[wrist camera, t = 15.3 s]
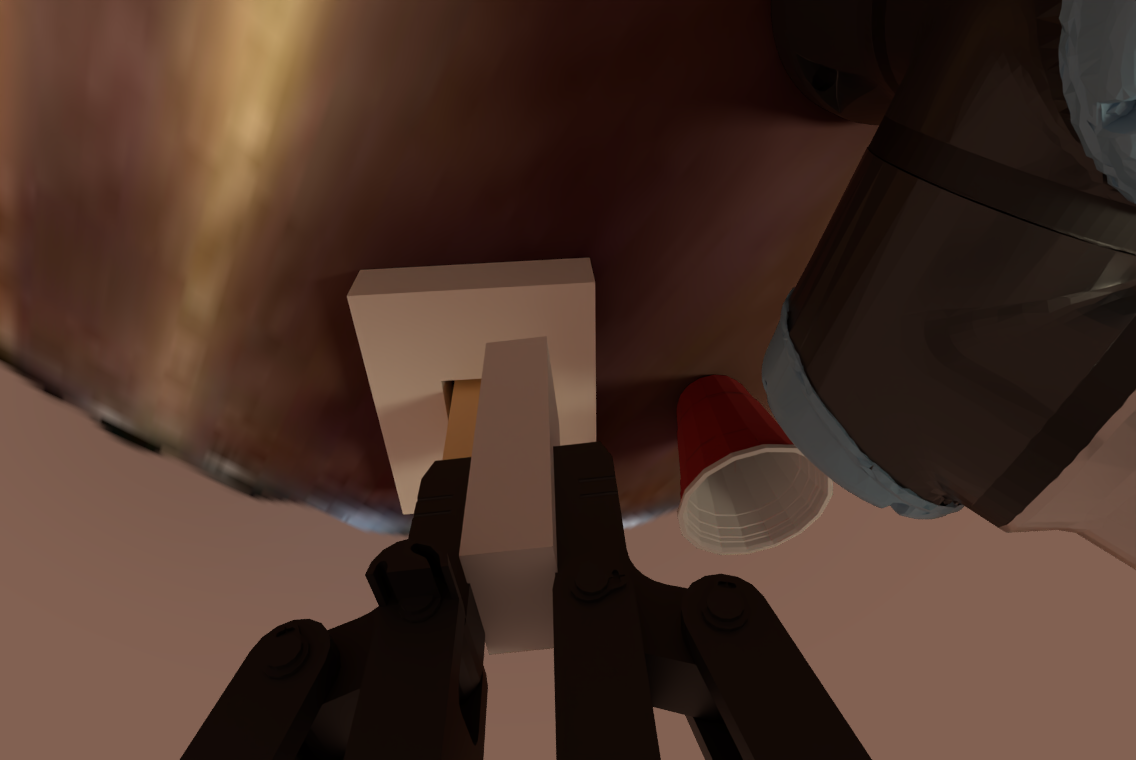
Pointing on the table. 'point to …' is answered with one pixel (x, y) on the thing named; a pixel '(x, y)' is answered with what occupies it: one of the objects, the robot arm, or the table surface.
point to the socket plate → (468, 346)
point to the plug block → (462, 419)
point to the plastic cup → (741, 472)
